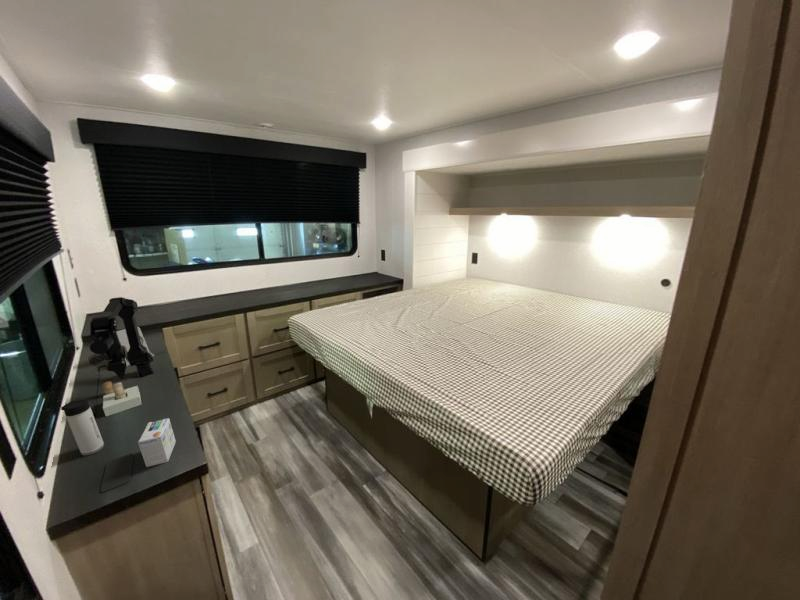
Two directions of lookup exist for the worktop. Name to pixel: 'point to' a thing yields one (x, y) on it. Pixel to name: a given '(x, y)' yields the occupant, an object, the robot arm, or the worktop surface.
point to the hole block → (121, 401)
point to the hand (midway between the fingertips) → (121, 374)
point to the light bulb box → (157, 442)
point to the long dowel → (119, 391)
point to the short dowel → (108, 388)
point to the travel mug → (83, 426)
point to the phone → (117, 473)
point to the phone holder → (125, 342)
